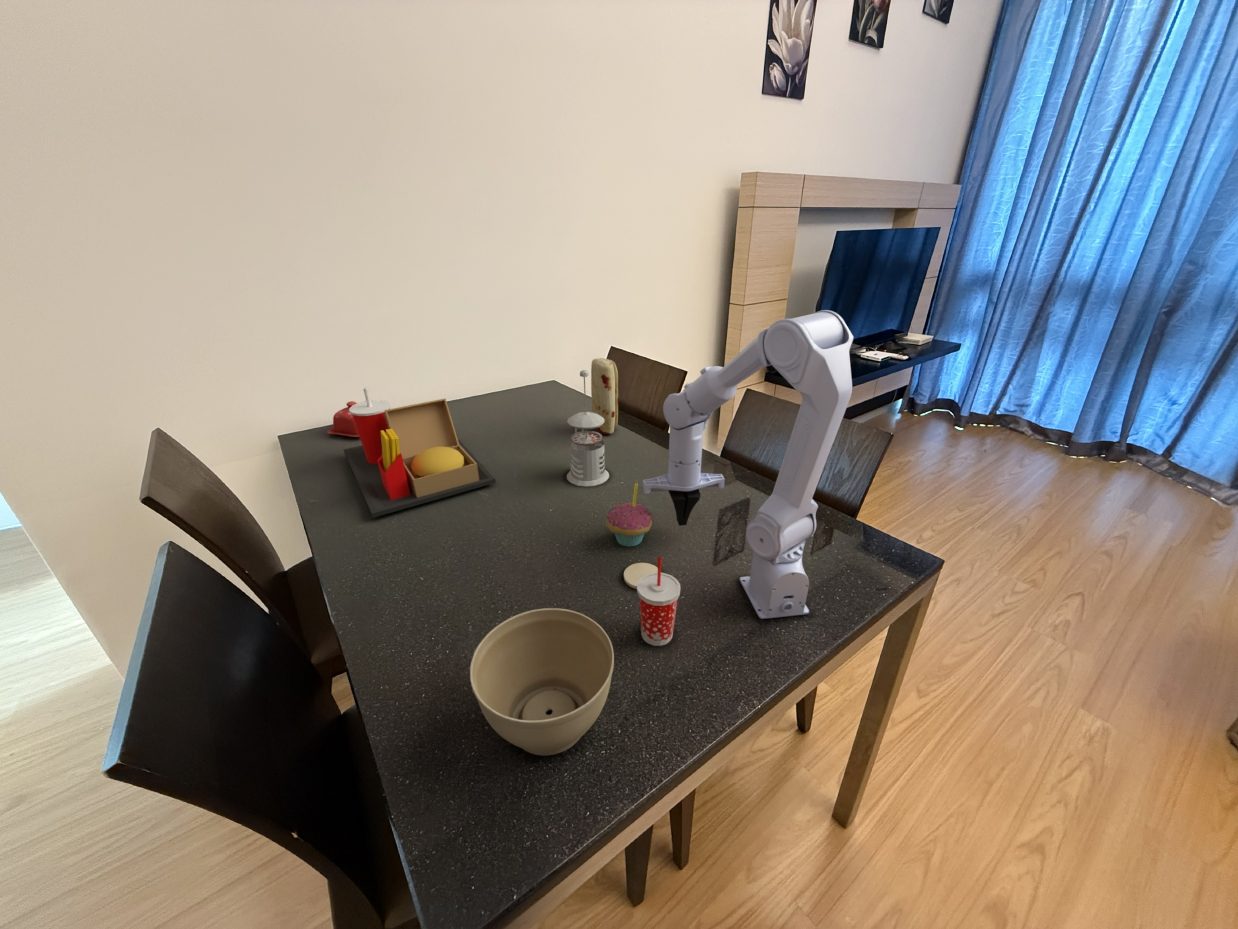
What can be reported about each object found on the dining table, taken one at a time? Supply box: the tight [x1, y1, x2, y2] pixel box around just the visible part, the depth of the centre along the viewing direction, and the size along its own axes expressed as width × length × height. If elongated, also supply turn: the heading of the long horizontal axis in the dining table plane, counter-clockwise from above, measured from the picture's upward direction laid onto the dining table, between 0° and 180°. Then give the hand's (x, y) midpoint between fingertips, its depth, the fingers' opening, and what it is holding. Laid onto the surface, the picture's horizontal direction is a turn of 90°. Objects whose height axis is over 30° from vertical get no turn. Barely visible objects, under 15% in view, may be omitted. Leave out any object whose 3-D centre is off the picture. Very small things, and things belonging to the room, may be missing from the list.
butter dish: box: [326, 400, 360, 438], centre depth 142 cm, size 12×12×8 cm
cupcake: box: [605, 479, 654, 547], centre depth 96 cm, size 9×8×12 cm
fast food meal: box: [343, 387, 496, 518], centre depth 119 cm, size 26×35×18 cm
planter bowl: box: [469, 607, 615, 757], centre depth 62 cm, size 16×16×11 cm
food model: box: [590, 357, 619, 436], centre depth 139 cm, size 10×7×20 cm
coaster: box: [623, 562, 658, 590], centre depth 89 cm, size 6×6×1 cm
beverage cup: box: [636, 555, 681, 647], centre depth 74 cm, size 6×6×14 cm
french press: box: [566, 369, 610, 487], centre depth 116 cm, size 10×12×25 cm
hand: (681, 522), depth 98 cm, fingers closed
